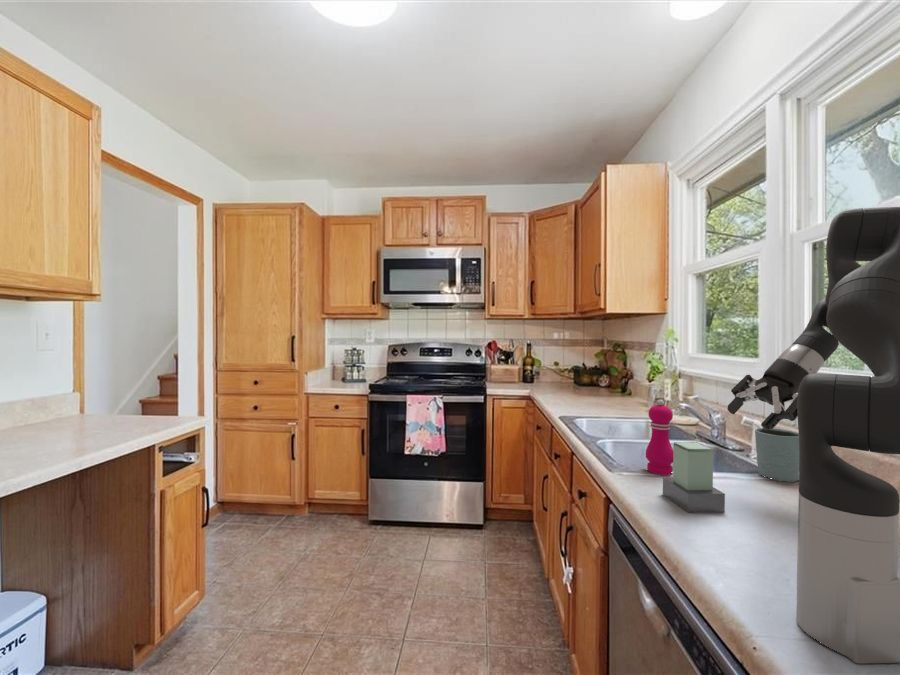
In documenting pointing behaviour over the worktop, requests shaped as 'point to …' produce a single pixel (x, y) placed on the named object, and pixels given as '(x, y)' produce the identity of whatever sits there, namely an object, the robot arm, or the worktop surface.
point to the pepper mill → (660, 440)
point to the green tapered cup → (778, 454)
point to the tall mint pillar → (693, 466)
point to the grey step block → (694, 498)
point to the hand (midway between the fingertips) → (746, 419)
